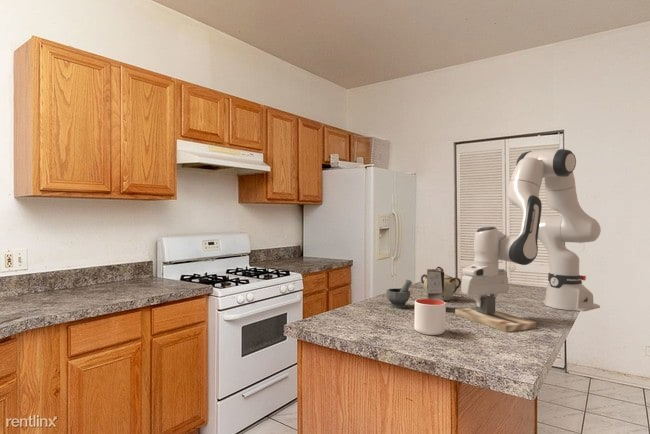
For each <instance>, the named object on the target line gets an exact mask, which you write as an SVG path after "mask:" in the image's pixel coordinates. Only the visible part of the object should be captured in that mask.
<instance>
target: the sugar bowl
mask: <svg viewBox="0 0 650 434" xmlns="http://www.w3.org/2000/svg"><path fill="white" fill-rule="evenodd" d="M436 269H442V270H443V271H444V269H443V268H442V266H437V267H436ZM444 272H445V271H444ZM424 277H425V278H424ZM420 281H421V283H422V285H423V288H424V290H425V292H426V293H427V274H422V275H421V276H420ZM457 281H458V283H457ZM461 282H462V280H461V279H460V278H459V277H453V276H451V275H448V274H446V273H444V301H449V300H451V298H452V297H453V295H455V293H456V292H457V290H458V289H459V288H460V287H461Z"/></svg>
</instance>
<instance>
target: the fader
mask: <svg viewBox="0 0 650 434" xmlns="http://www.w3.org/2000/svg"><path fill="white" fill-rule="evenodd" d="M474 300H475V299H474ZM480 300H481V302H483V306H482V307H478V306H477V305H476V303H477V301H476V300H475V302H474V303H475V304H474V307H475V310H476V311H479V312H482V313H485V314H493V313H495V310H496V299H495V297H493V296H490V294H488V295H481V298H480Z"/></svg>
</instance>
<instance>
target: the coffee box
mask: <svg viewBox="0 0 650 434" xmlns="http://www.w3.org/2000/svg"><path fill="white" fill-rule="evenodd" d="M442 269H443V268H442ZM442 269H439V268H438V269H435V268H434V269H433V268H432V269H430V268H427V269H426V270H427V271H426V275H427V292H426V299H436V300H441V301H444V302H445V300H444V274H445V271H443V270H444V269H443V270H442Z"/></svg>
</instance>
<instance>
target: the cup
mask: <svg viewBox="0 0 650 434" xmlns="http://www.w3.org/2000/svg"><path fill="white" fill-rule="evenodd" d="M446 307H447V305H446V302H445V300H444V301H441V300H436V299H427V298H419V299H415V301H414V329H415V331H416V332H418V333H420V334H422V335H426V336H438V335H439V336H440V335H442V334H444V333H445V331H446V314H447V313H446V310H447V309H446Z"/></svg>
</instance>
